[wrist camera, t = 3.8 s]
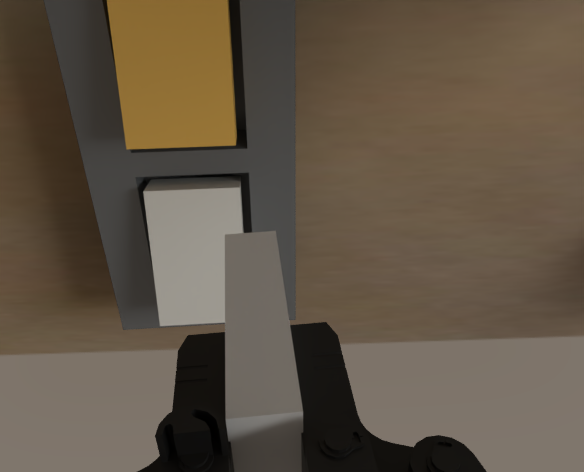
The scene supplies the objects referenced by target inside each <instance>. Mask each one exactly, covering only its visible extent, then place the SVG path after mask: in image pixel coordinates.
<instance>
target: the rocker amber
mask: <svg viewBox="0 0 584 472" xmlns="http://www.w3.org/2000/svg"><path fill="white" fill-rule="evenodd" d="M107 6H108V13H109V21H110V28H111V36H112V44H113V51H114V59H115V66H116V74H117V81H118V89H119V97H120V104H121V112H122V119H123V127H124V134H125V142H126V149H153V148H180V147H207V146H234V145H236V139H237V130H236V113H235V96H234V79H233V61H232V44H231V27H230V10H229V0H107Z"/></svg>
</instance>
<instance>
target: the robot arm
mask: <svg viewBox="0 0 584 472" xmlns="http://www.w3.org/2000/svg"><path fill="white" fill-rule="evenodd" d="M155 437H156V441H157V445H158V450H159V454H160V456H159V457H158V458H157V459H156V460H155V461H154V462H153V463H151V464H150V465H149V466H147V467H145V468H144V469H142V470H140V471H138V472H486V470H485V469H484V468H483V466H482V465H481V463H480V462H479V461H478V459H477V458H476V457H475V455H474V454H473V453H472V452H471V451H470V450H469V449H468V448H467V447H466V446H465V445H464V444H462V443H461V442H459V441H457V440H455V439H453V438H450V437H445V436H439V435H438V436H431V437H426V438H424V439H423V440H421V441H419V442H417V443H416V445H415V446H414V447H409V446H404V445H399V444H394V443H390V442H387V441H383V440H381V439H379V438H378V437H376V436H374V435H372V434H371V433H370V432H369V431H368V430H366V428H365V427H364V426H363V424H362V423H361V421H360V419H359V416H358V414H357V410H356V406H355V402H354V398H353V394H352V390H351V386H350V383H349V378H348V375H347V370H346V368H345V363H344V359H343V355H342V351H341V347H340V343H339V339H338V335H337V334H336V333H335V332H334V331H333V330H332V328H331V327H330V326H329V325H328V324H327V323H326V322H322V323H311V324H299V325H290V322H289V315H288V309H287V302H286V296H285V289H284V282H283V276H282V269H281V263H280V256H279V249H278V243H277V236H276V231H266V232H253V233H239V234H225V332H221V333H209V334H197V335H188V336H187V338H186V339H185V341H184V342H183V344H182V345H181V347H180V349H179V350H178V359H177V371H176V379H175V389H174V400H173V410H172V412H171V413H169V414H168V415H167V416H166V417H165V418H164V419H163V421H162V422H161V423H160V424H159V426H158V429H157V432H156V435H155Z"/></svg>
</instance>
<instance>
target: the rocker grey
mask: <svg viewBox="0 0 584 472" xmlns="http://www.w3.org/2000/svg"><path fill="white" fill-rule="evenodd" d="M143 193H144V201H145V209H146V217H147V225H148V233H149V241H150V249H151V257H152V265H153V273H154V282H155V290H156V298H157V306H158V314H159V322H160V326H173V325H190V324H207V323H225V234H239V233H244V229H243V212H242V194H241V177H240V176H226V177H202V178H177V179H152V180H150V182H149V183H148V185H147V186H146V188H145V190H144V191H143Z"/></svg>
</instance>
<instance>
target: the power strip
mask: <svg viewBox="0 0 584 472" xmlns="http://www.w3.org/2000/svg"><path fill="white" fill-rule="evenodd" d="M44 4H45V8H46V12H47V16H48V20H49V24H50V28H51V33H52V37H53V41H54V45H55V49H56V53H57V57H58V62H59V66H60V70H61V74H62V78H63V82H64V86H65V90H66V95H67V99H68V103H69V107H70V111H71V115H72V119H73V123H74V128H75V132H76V136H77V140H78V144H79V148H80V152H81V156H82V161H83V165H84V169H85V173H86V177H87V181H88V185H89V190H90V194H91V198H92V202H93V206H94V210H95V214H96V218H97V223H98V227H99V231H100V235H101V239H102V243H103V247H104V251H105V256H106V260H107V264H108V268H109V272H110V276H111V280H112V284H113V289H114V293H115V297H116V301H117V305H118V309H119V313H120V318H121V322H122V326H123V330H127V329H144V328H162V327H179V326H196V325H214V324H225V323H207V324H190V325H173V326H160V322H159V314H158V306H157V298H156V290H155V282H154V273H153V265H152V257H151V249H150V241H149V233H148V225H147V217H146V209H145V201H144V193H143V191H144V190H145V188H146V186H147V185H148V183H149V182H150V180H152V179H177V178H202V177H226V176H240V177H241V194H242V212H243V229H244V233H253V232H266V231H276V236H277V243H278V249H279V256H280V263H281V269H282V276H283V282H284V289H285V296H286V302H287V309H288V315H289V320H295V0H229V10H230V27H231V44H232V61H233V79H234V96H235V113H236V130H237V139H236V145H234V146H207V147H180V148H153V149H126V142H125V134H124V127H123V119H122V112H121V104H120V97H119V89H118V81H117V74H116V66H115V59H114V51H113V44H112V36H111V28H110V21H109V13H108V6H107V0H44Z"/></svg>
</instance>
